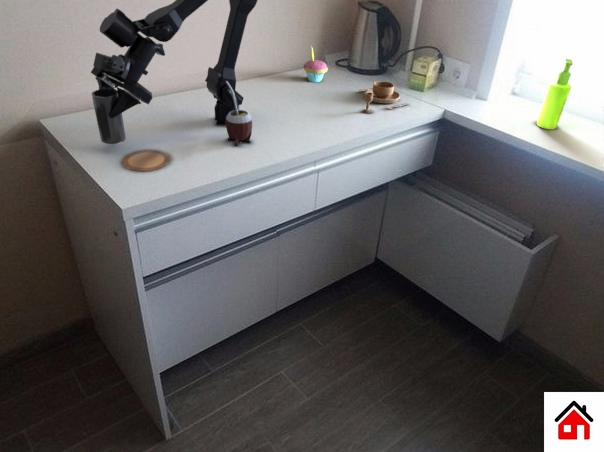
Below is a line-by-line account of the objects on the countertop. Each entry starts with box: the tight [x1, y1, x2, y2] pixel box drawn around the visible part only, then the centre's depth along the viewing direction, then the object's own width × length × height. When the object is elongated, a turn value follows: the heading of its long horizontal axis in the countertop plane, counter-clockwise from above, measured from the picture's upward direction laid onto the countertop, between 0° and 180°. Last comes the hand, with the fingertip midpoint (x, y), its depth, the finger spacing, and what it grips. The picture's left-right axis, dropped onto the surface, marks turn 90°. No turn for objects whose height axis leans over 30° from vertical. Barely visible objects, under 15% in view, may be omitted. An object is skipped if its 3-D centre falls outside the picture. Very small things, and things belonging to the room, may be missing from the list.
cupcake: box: [303, 45, 328, 83], centre depth 178 cm, size 9×8×12 cm
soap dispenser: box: [536, 58, 574, 130], centre depth 150 cm, size 6×7×20 cm
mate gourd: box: [225, 81, 253, 147], centre depth 131 cm, size 8×8×15 cm
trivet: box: [122, 149, 170, 172], centre depth 122 cm, size 11×11×1 cm
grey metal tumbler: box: [91, 88, 127, 145], centre depth 122 cm, size 6×6×12 cm
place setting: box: [358, 80, 408, 114], centre depth 164 cm, size 18×20×6 cm
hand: (103, 113), depth 121 cm, fingers closed on grey metal tumbler, 6 cm apart
